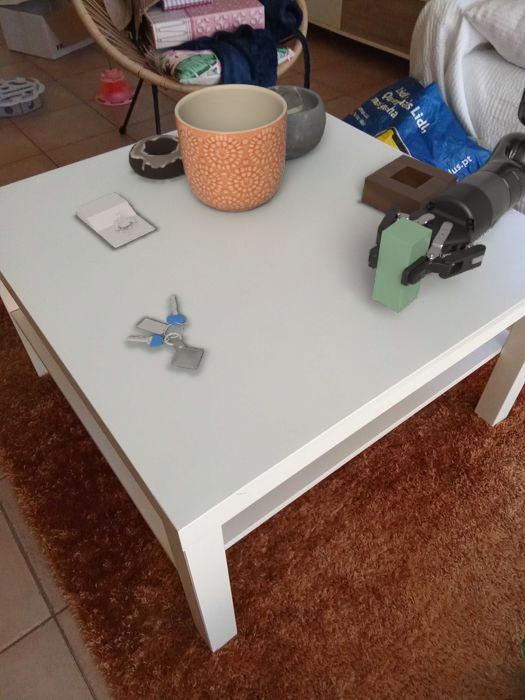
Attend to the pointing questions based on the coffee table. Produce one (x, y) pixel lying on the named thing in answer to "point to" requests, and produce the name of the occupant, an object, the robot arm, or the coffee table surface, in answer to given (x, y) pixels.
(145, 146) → the donut
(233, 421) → the coffee table surface
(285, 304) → the coffee table surface
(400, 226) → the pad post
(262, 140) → the planter
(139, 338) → the key chain
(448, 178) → the mount block
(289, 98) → the bowl
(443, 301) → the coffee table surface
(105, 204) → the small white envelope
